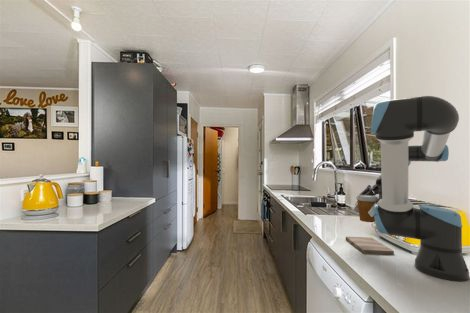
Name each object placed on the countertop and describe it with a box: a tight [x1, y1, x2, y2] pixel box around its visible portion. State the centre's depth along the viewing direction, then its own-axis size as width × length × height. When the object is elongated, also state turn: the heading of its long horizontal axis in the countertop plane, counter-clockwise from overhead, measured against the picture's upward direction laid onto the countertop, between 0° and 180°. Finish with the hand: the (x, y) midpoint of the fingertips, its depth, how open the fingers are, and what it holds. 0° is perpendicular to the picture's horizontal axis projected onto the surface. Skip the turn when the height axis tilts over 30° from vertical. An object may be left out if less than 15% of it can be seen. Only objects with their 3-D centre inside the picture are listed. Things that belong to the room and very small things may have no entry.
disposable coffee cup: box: [356, 194, 379, 223], centre depth 115 cm, size 10×10×12 cm
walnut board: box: [345, 236, 395, 255], centre depth 113 cm, size 19×13×2 cm
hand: (361, 212), depth 114 cm, fingers closed on disposable coffee cup, 9 cm apart
